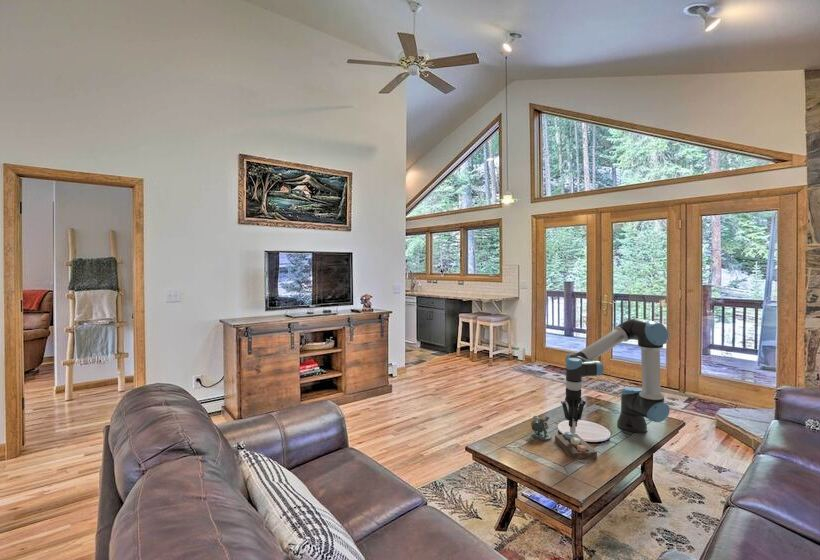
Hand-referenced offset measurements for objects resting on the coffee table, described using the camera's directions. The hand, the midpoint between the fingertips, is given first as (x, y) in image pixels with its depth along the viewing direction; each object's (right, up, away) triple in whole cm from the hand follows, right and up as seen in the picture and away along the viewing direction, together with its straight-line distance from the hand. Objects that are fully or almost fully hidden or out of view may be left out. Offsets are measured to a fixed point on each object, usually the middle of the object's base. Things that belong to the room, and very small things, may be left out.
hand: (572, 432), depth 210 cm
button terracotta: (+1, -6, -9) cm, 12 cm away
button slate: (-1, -5, +3) cm, 6 cm away
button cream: (0, -5, -3) cm, 6 cm away
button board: (0, -8, -3) cm, 8 cm away
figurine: (-12, -7, +12) cm, 19 cm away
